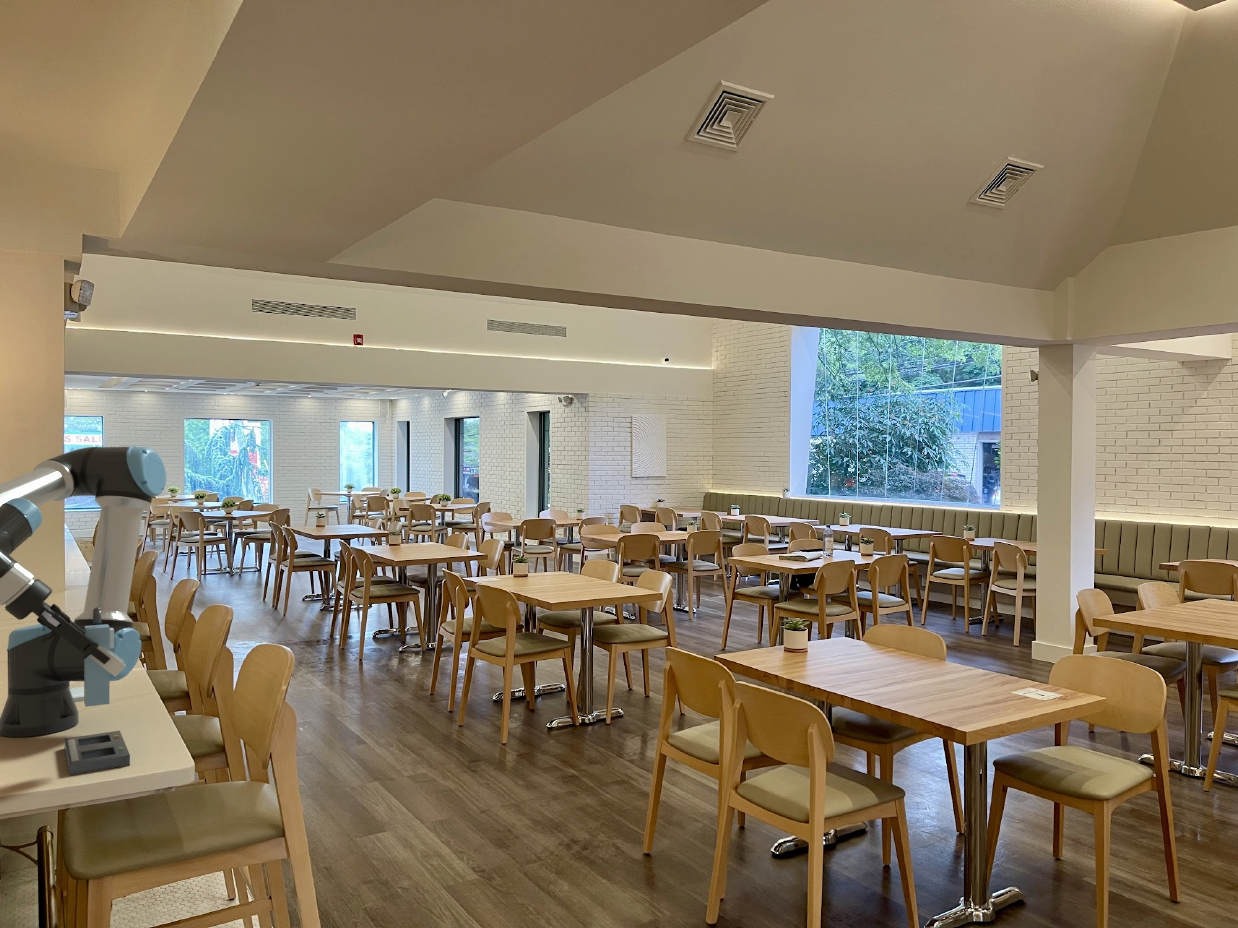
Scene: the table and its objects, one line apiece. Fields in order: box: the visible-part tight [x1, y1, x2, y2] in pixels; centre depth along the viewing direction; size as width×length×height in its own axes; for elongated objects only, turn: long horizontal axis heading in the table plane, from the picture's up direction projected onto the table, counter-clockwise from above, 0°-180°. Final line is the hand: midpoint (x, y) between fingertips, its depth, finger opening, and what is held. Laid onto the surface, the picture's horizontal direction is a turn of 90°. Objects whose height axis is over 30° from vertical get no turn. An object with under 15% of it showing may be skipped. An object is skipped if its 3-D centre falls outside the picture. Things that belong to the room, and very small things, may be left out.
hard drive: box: [70, 686, 84, 703], centre depth 229 cm, size 2×8×12 cm
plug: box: [83, 607, 114, 708], centre depth 175 cm, size 4×5×19 cm
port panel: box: [64, 730, 131, 776], centre depth 179 cm, size 20×10×2 cm, turn 34°
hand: (119, 668), depth 177 cm, fingers closed on plug, 4 cm apart
